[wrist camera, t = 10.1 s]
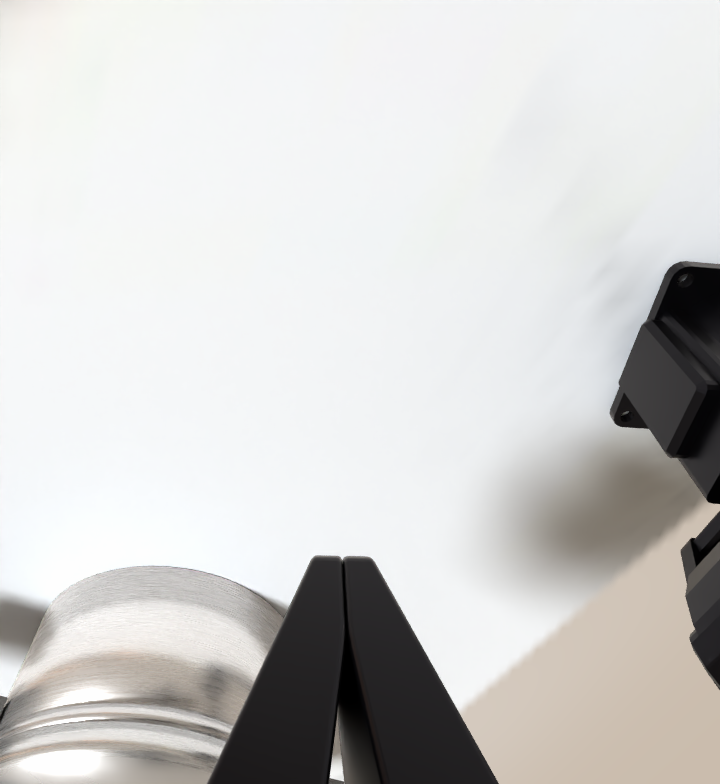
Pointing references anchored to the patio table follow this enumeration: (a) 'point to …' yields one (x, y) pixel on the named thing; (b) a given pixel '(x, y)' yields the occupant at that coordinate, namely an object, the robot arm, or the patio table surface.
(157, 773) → the cooker lid
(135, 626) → the cooker pot
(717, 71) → the patio table surface
